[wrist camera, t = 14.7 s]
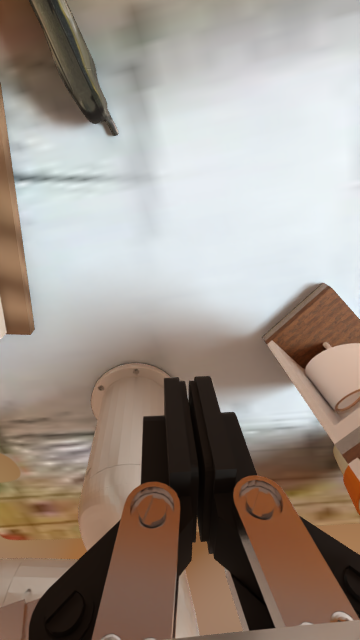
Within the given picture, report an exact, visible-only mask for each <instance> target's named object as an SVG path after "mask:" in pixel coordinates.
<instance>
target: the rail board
mask: <svg viewBox="0 0 360 640" xmlns="http://www.w3.org/2000/svg"><path fill="white" fill-rule="evenodd" d="M0 298H1V303H2V309H3V315H4V320H5V326H6V331H7V333H6V334H20V335H31V334H32V332H33V331H34V330H35V328H34V321H33V314H32V306H31V299H30V292H29V285H28V277H27V270H26V263H25V256H24V249H23V241H22V234H21V227H20V220H19V212H18V205H17V198H16V191H15V184H14V176H13V169H12V162H11V155H10V147H9V140H8V133H7V126H6V119H5V111H4V104H3V97H2V90H1V82H0Z"/></svg>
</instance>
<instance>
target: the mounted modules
mask: <svg viewBox="0 0 360 640" xmlns="http://www.w3.org/2000/svg"><path fill="white" fill-rule="evenodd" d="M6 333H7V331H6V326H5V320H4V315H3V309H2V303H1V298H0V340H1V339H2V338H3V336H4V335H5V334H6Z"/></svg>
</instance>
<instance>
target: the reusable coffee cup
mask: <svg viewBox="0 0 360 640" xmlns="http://www.w3.org/2000/svg"><path fill="white" fill-rule="evenodd" d="M333 454H334V457H335V459H336V461H337V463H338V465H339V468H340V470H341V472H342V474H343V476H344V479H343V481H344V484H345V486H346V489H347V491H348V493H349V495H350V497H351V499H352V502H353V504H354V506H355V508H356V510H357V512H358V513H359V515H360V481H359V480H358V478H357V477H356V475H355V474H354V472H353V471H352V469H351V468H350V466H349V465H348V463H347V462H346V460H345V459H344V457H343V456H342V455H341V453H340V452H339V450H338V449H337V447H336V446H335V445H334V448H333Z"/></svg>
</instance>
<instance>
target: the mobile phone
mask: <svg viewBox="0 0 360 640" xmlns="http://www.w3.org/2000/svg"><path fill="white" fill-rule="evenodd" d="M29 2H30V4H31V6H32V8H33V10H34V12H35V14H36V16H37V18H38V20H39V22H40V25H41V27H42V29H43V31H44V34H45V37H46V39H47V42H48V45H49V48H50V51H51V53H52V56H53V59H54V62H55V65H56V67H57V70H58V72H59V74H60V76H61V78H62V80H63V82H64V84H65V86H66V88H67V89H68V91H69V93H70V94H71V96H72V97H73V99H74V100H75V102H76V103H77V105H78V106H79V108H80V109H81V111H82V112H83V114H84V115H85V116H86V118H87V119H88V120H89V121H90V122H92V123H93V124H97V123H100V122H101V121H105V122H107V124H108V126H109V128H110V130H111V132H112V134H113V135H114V136H116V135H118V134H119V133H118V130H117V128H116V126H115V124H114V122H113V120H112V118H111V116H110V114H109V111H108V109H107V102H106V99H105V97H104V95H103V93H102V91H101V88H100V86H99V83H98V79H97V74H96V68H95V64H94V61H93V59H92V57H91V54H90V52H89V50H88V48H87V46H86V43H85V41H84V39H83V37H82V34H81V32H80V30H79V28H78V26H77V24H76V21H75V19H74V17H73V15H72V13H71V11H70V8H69V6H68V4H67V2H66V0H29Z"/></svg>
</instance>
